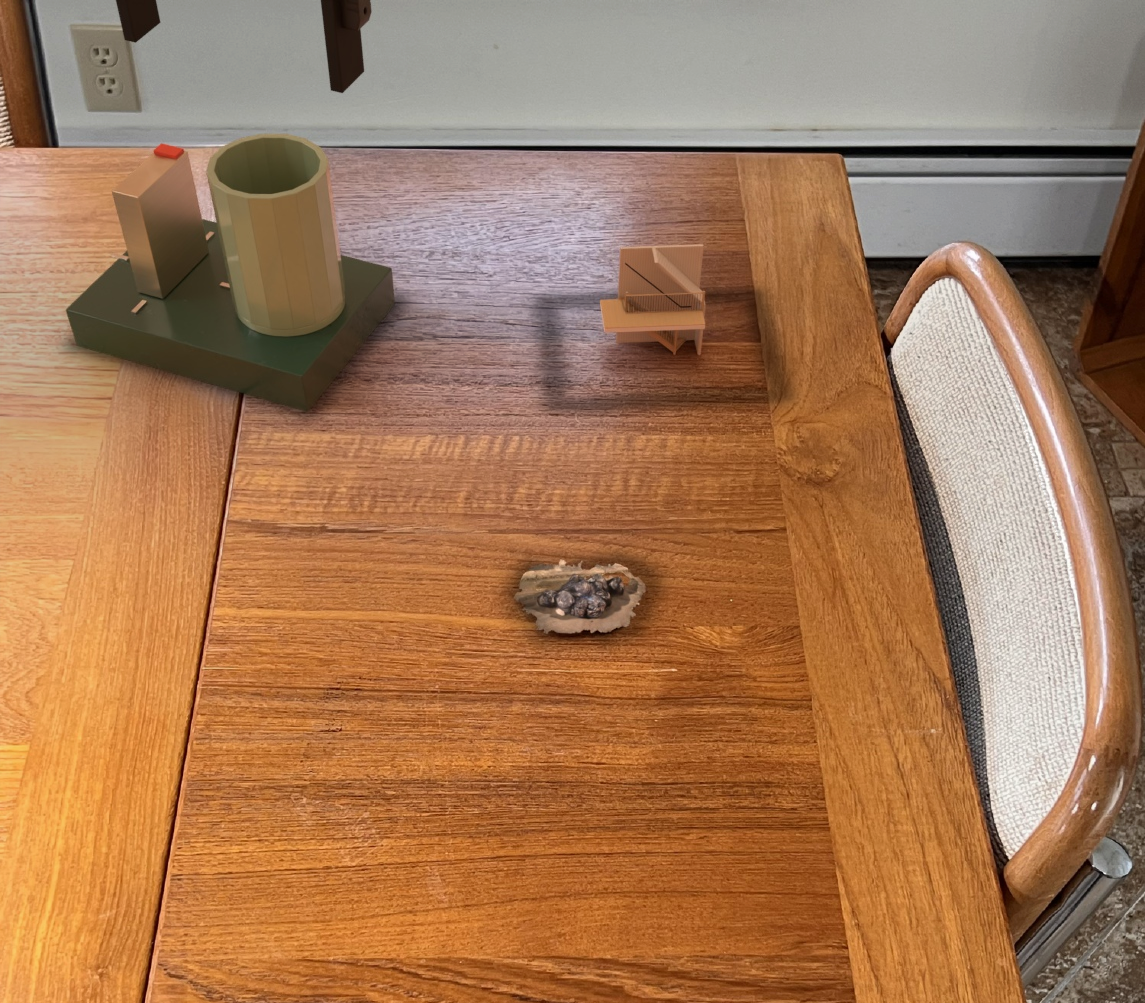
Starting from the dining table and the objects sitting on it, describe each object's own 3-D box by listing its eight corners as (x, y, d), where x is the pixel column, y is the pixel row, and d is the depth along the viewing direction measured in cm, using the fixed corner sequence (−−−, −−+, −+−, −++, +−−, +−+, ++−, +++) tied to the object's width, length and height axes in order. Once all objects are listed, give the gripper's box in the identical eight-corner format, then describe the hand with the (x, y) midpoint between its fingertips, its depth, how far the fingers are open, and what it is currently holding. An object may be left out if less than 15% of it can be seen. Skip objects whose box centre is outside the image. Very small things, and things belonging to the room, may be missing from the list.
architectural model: (703, 369, 97) (713, 274, 91) (602, 373, 97) (606, 278, 91) (696, 339, 99) (706, 244, 93) (598, 342, 99) (601, 247, 93)
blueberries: (496, 585, 85) (495, 562, 83) (612, 540, 87) (613, 517, 86) (551, 660, 81) (551, 637, 80) (670, 610, 84) (672, 588, 82)
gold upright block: (163, 299, 96) (137, 194, 90) (137, 292, 97) (110, 186, 90) (209, 252, 100) (187, 147, 93) (184, 245, 100) (160, 140, 94)
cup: (214, 320, 95) (184, 181, 87) (269, 261, 99) (245, 123, 91) (312, 347, 93) (290, 208, 85) (364, 286, 97) (348, 148, 90)
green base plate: (69, 344, 98) (56, 305, 95) (170, 244, 105) (160, 205, 103) (308, 413, 94) (301, 374, 91) (395, 304, 101) (392, 265, 99)
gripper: (449, -385, 65) (465, 71, 82) (-7, -459, 71) (96, -16, 88) (375, -336, 61) (408, 134, 78) (-104, -420, 66) (24, 39, 83)
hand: (243, 56), depth 83 cm, fingers open, 13 cm apart
